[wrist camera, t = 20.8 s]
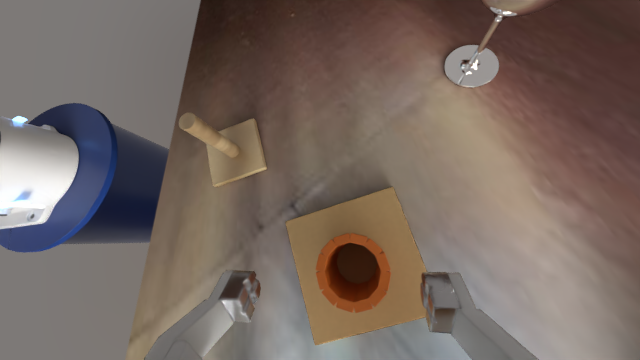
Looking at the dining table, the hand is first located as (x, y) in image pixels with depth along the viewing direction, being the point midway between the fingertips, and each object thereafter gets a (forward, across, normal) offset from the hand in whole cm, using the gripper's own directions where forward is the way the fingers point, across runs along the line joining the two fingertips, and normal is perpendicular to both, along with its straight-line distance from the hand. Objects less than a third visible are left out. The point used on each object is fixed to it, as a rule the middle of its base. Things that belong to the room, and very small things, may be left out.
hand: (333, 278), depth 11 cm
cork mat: (+12, 0, +13) cm, 17 cm away
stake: (+22, +16, +2) cm, 28 cm away
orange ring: (+11, 0, +12) cm, 16 cm away
